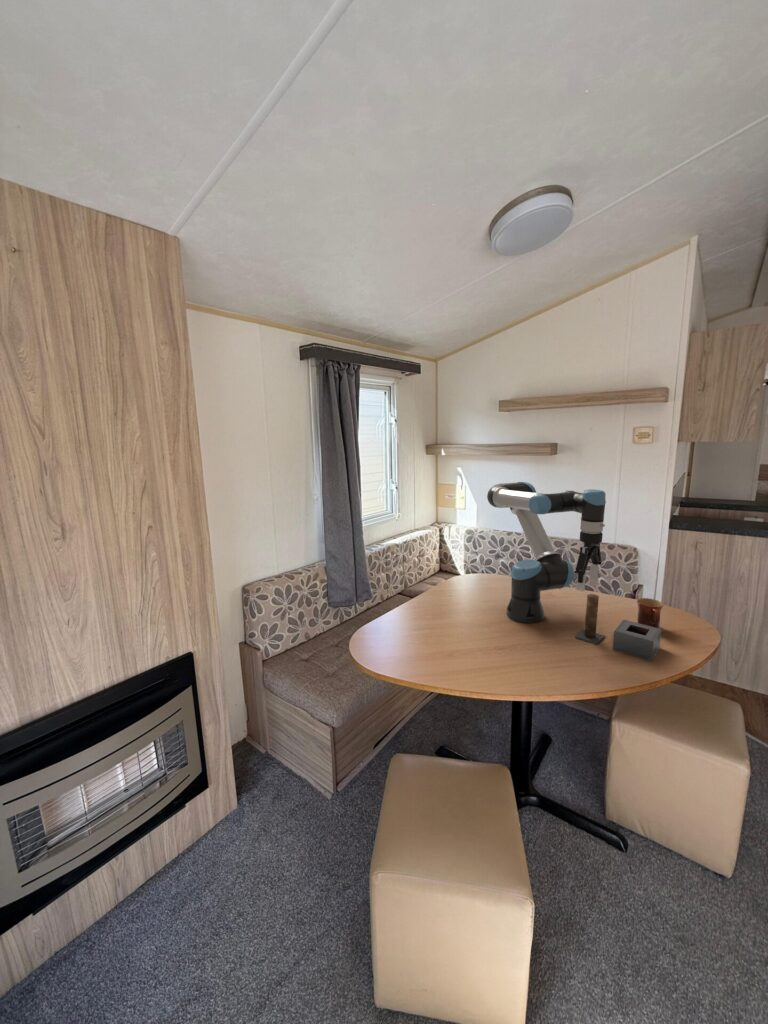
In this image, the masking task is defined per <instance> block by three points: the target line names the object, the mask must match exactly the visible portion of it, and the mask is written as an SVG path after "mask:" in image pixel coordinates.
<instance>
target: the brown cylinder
mask: <svg viewBox="0 0 768 1024" xmlns="http://www.w3.org/2000/svg"><path fill="white" fill-rule="evenodd" d="M599 598H600V596H599V595H597V594H594V593H588V594H587V597H586V608H585V621H584V622H585V623H584V630H585V633H584V636H585V637H587V638H595V637H596V633H597V623H598V611H599V610H598V609H599Z"/></svg>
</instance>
